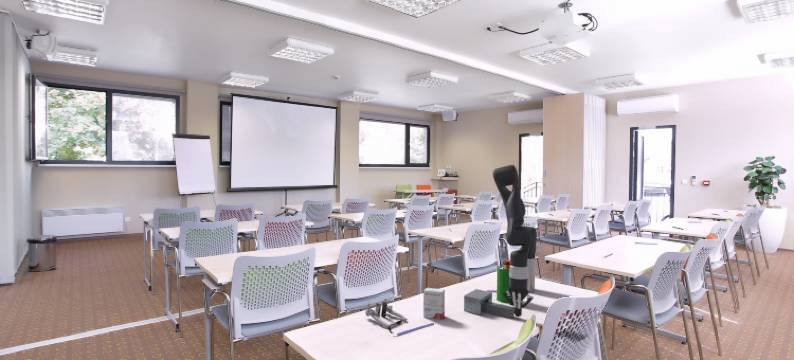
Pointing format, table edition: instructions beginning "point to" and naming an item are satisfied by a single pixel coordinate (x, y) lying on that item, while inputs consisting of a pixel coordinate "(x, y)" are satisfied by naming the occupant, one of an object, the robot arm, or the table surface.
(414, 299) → the table surface
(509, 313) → the plug rod
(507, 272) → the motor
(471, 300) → the housing
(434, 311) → the ink box
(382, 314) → the bike brake
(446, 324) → the table surface
